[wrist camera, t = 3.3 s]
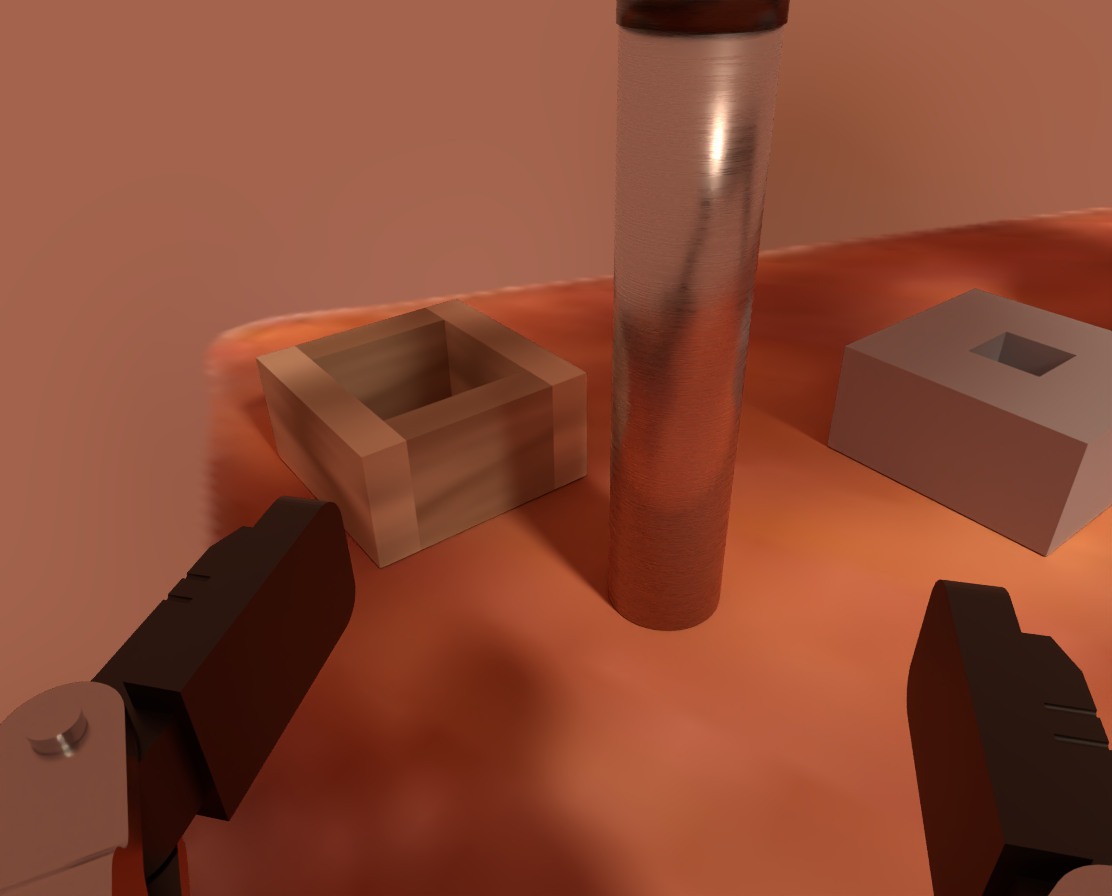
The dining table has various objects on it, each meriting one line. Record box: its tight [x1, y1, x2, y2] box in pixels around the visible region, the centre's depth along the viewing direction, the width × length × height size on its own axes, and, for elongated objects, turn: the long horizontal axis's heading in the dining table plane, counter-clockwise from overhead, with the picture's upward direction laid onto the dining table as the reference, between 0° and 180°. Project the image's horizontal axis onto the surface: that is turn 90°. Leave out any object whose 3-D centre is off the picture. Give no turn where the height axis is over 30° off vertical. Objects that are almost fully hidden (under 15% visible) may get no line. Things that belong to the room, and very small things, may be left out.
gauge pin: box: [608, 0, 790, 631], centre depth 20 cm, size 3×3×16 cm
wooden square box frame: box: [256, 299, 587, 568], centre depth 29 cm, size 8×8×4 cm
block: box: [827, 289, 1112, 557], centre depth 29 cm, size 8×8×4 cm
